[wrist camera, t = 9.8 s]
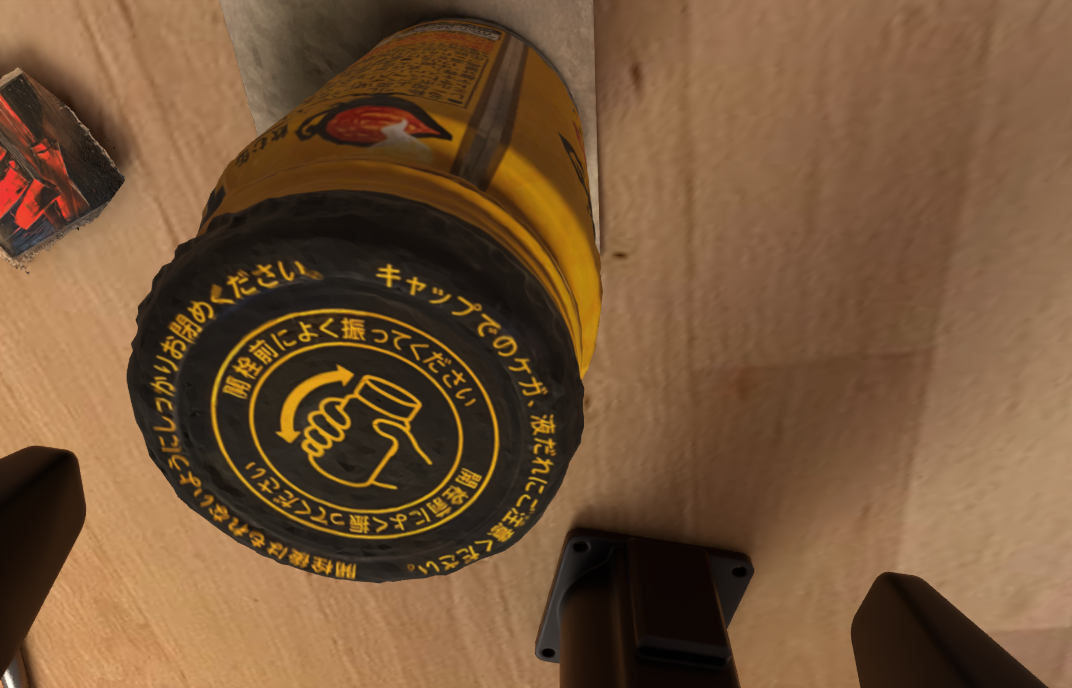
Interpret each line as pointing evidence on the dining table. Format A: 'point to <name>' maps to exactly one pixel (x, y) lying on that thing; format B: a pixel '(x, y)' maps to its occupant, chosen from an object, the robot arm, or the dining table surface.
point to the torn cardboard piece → (46, 170)
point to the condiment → (385, 286)
